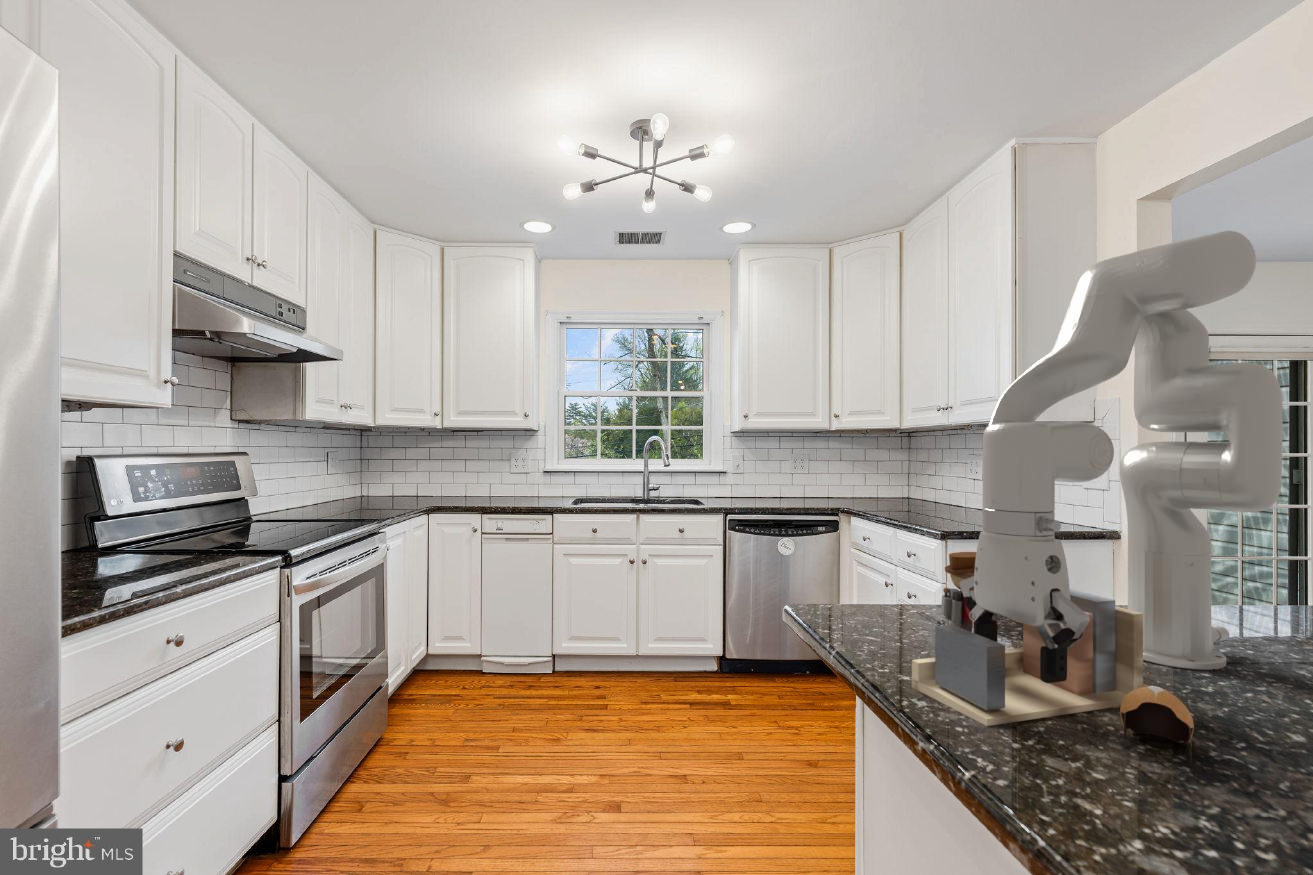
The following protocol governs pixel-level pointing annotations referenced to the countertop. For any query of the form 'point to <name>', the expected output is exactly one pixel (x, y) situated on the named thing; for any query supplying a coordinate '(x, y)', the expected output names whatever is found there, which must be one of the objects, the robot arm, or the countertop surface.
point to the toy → (953, 598)
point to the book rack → (1094, 669)
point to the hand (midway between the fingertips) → (1017, 665)
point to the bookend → (970, 666)
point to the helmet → (1157, 715)
